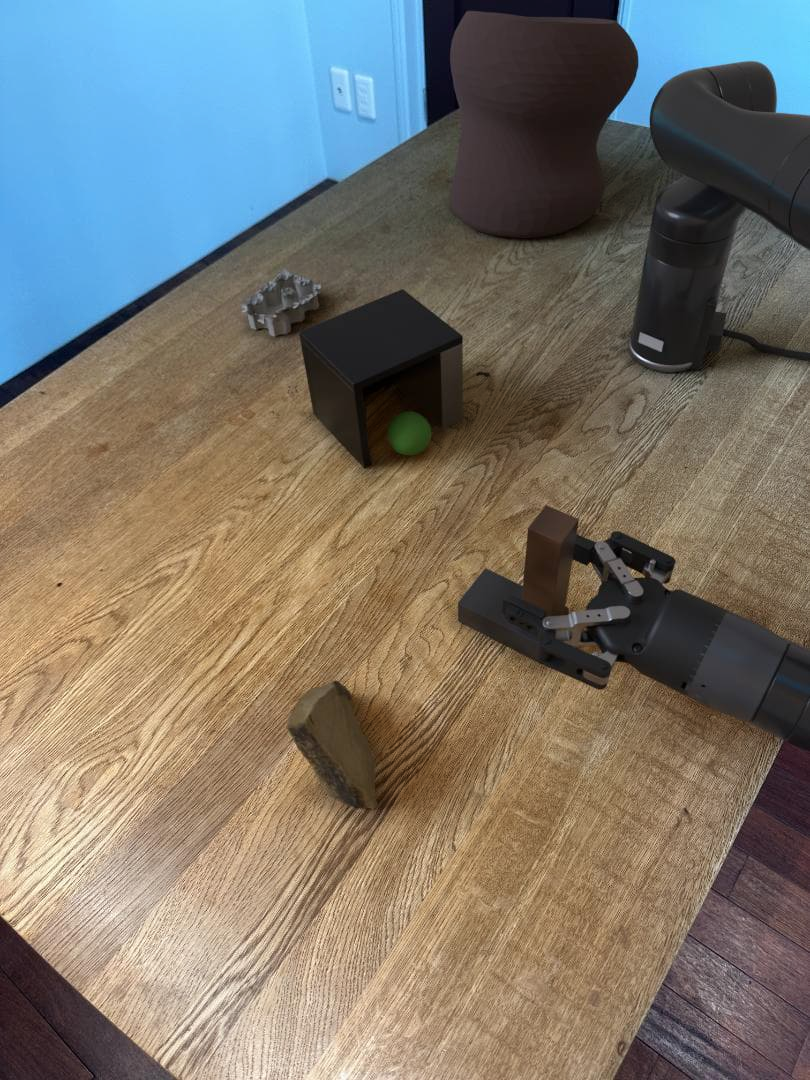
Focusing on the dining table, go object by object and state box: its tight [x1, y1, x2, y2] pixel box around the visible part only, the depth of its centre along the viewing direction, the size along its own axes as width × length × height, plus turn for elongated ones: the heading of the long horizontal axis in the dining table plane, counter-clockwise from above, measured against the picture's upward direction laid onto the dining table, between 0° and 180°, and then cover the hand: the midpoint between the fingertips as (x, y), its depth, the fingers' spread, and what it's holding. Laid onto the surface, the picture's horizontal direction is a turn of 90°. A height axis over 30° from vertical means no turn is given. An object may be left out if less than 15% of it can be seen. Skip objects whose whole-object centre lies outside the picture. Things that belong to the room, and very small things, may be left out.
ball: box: [386, 410, 432, 456], centre depth 93 cm, size 5×5×5 cm
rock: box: [286, 680, 378, 810], centre depth 68 cm, size 11×9×10 cm
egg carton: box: [240, 268, 323, 338], centre depth 113 cm, size 11×8×4 cm
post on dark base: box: [457, 504, 580, 665], centre depth 72 cm, size 9×5×16 cm, turn 55°
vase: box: [448, 10, 639, 239], centre depth 121 cm, size 27×27×30 cm
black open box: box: [298, 288, 464, 469], centre depth 94 cm, size 12×14×12 cm
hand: (529, 570), depth 70 cm, fingers open, 8 cm apart
